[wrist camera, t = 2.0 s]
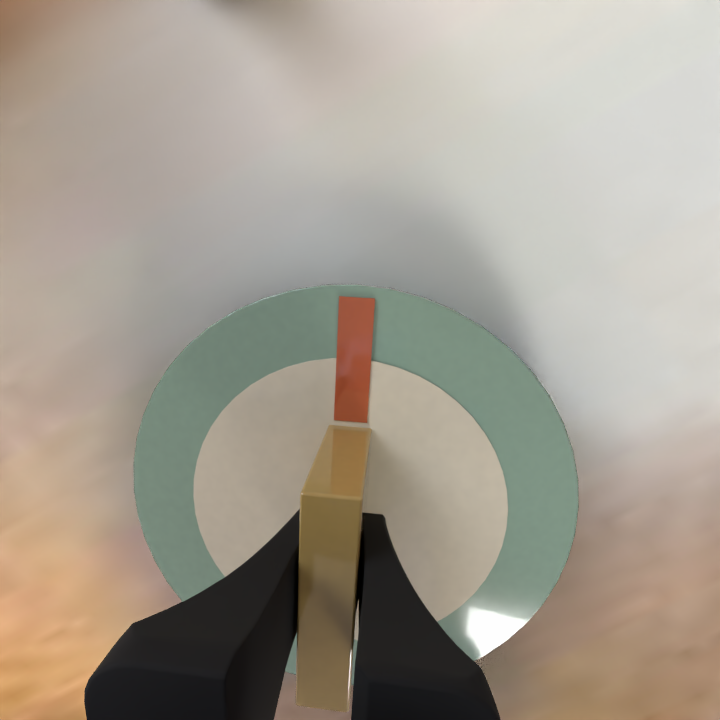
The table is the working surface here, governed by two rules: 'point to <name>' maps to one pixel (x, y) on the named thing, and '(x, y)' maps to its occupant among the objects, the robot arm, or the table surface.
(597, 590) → the table surface
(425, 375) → the dial knob
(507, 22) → the table surface
